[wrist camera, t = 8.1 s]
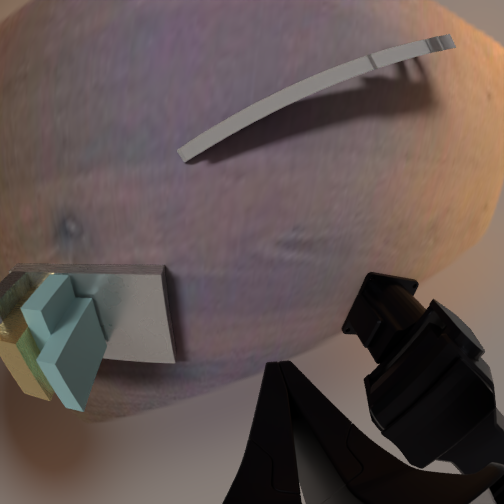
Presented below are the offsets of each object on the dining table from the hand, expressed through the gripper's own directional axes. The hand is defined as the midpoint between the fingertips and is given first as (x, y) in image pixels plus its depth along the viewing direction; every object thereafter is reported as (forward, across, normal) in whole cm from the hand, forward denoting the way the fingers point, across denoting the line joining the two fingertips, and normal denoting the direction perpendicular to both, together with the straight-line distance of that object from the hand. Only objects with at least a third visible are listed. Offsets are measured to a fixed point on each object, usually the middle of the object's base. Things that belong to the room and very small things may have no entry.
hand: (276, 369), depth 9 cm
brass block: (+10, +17, +6) cm, 21 cm away
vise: (+12, +14, +6) cm, 19 cm away
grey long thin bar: (+12, -4, -11) cm, 17 cm away
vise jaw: (+10, +14, +7) cm, 18 cm away
